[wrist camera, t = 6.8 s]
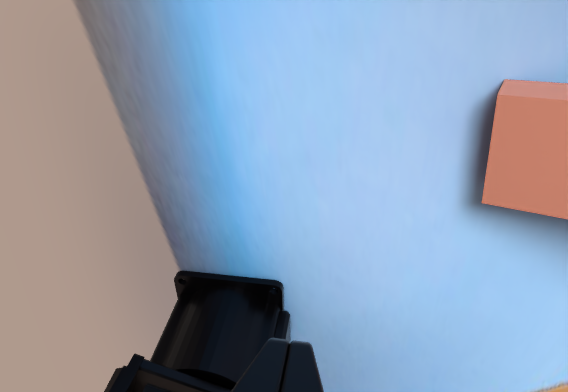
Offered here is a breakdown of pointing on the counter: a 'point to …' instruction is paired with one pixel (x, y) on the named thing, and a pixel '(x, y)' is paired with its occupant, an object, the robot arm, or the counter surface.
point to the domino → (529, 149)
